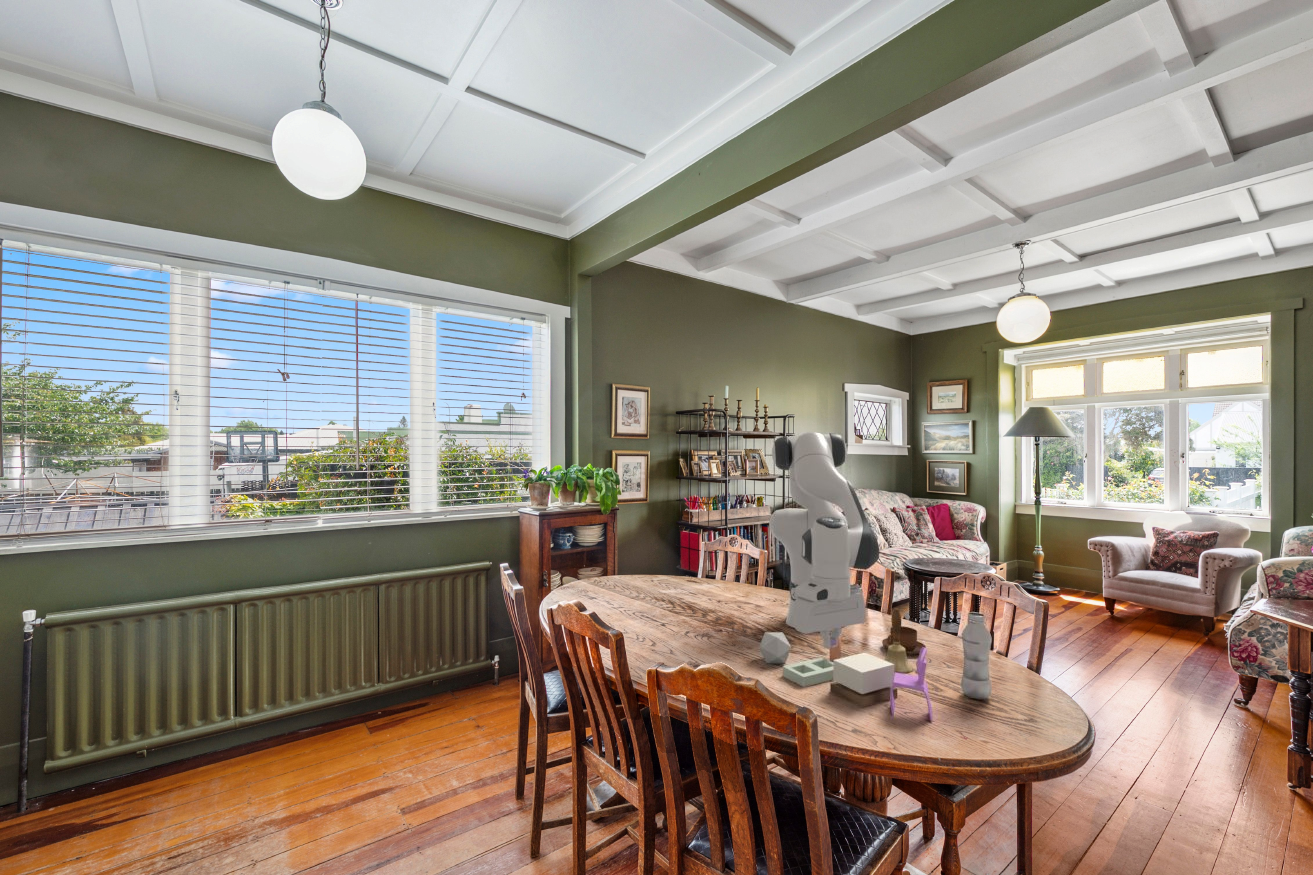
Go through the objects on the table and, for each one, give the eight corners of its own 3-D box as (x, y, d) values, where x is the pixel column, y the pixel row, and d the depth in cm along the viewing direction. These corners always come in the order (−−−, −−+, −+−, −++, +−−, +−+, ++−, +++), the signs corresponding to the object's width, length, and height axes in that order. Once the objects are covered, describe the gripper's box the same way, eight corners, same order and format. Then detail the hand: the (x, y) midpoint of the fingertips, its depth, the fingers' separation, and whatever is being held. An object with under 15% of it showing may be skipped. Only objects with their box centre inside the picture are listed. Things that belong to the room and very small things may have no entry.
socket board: (821, 666, 161) (821, 657, 161) (844, 676, 154) (844, 667, 154) (782, 675, 154) (782, 666, 154) (803, 687, 147) (803, 677, 147)
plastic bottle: (954, 694, 144) (954, 612, 144) (974, 689, 146) (974, 609, 147) (978, 705, 138) (978, 619, 138) (998, 700, 140) (998, 616, 141)
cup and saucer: (914, 661, 166) (914, 639, 166) (874, 649, 175) (874, 629, 175) (932, 651, 174) (933, 630, 174) (893, 641, 183) (894, 621, 183)
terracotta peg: (835, 662, 164) (835, 633, 164) (843, 666, 161) (843, 636, 161) (827, 664, 163) (827, 635, 163) (835, 668, 160) (835, 638, 160)
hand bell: (875, 667, 161) (876, 609, 161) (887, 659, 167) (887, 603, 167) (906, 675, 155) (907, 615, 155) (917, 667, 161) (918, 609, 161)
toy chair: (891, 701, 139) (891, 638, 139) (932, 709, 136) (932, 644, 136) (889, 716, 132) (889, 649, 132) (932, 724, 128) (932, 655, 128)
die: (783, 672, 158) (799, 640, 161) (755, 654, 160) (772, 623, 163) (777, 672, 166) (792, 641, 169) (750, 655, 168) (766, 625, 171)
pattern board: (864, 682, 151) (864, 672, 151) (897, 697, 142) (897, 687, 142) (830, 691, 145) (830, 681, 145) (862, 707, 136) (862, 697, 136)
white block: (864, 672, 150) (864, 652, 150) (894, 685, 142) (894, 664, 142) (833, 680, 145) (833, 660, 145) (862, 694, 137) (862, 672, 137)
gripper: (852, 580, 146) (851, 636, 146) (788, 589, 136) (788, 649, 136) (872, 585, 140) (872, 643, 140) (808, 595, 131) (807, 657, 130)
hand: (830, 646), depth 138 cm, fingers closed
